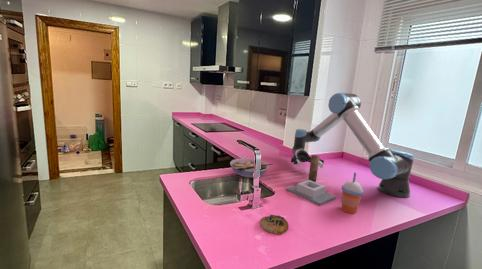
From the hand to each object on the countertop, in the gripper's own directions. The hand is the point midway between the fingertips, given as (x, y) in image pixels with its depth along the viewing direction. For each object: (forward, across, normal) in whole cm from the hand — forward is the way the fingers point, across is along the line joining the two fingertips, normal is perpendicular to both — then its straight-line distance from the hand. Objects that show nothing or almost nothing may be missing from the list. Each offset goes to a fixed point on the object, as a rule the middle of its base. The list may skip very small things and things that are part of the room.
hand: (310, 165), depth 147 cm
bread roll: (+53, +28, -9) cm, 60 cm away
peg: (+4, 0, -9) cm, 10 cm away
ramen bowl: (0, +36, -9) cm, 37 cm away
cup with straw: (+35, -8, -9) cm, 38 cm away
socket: (+21, +5, -9) cm, 23 cm away
